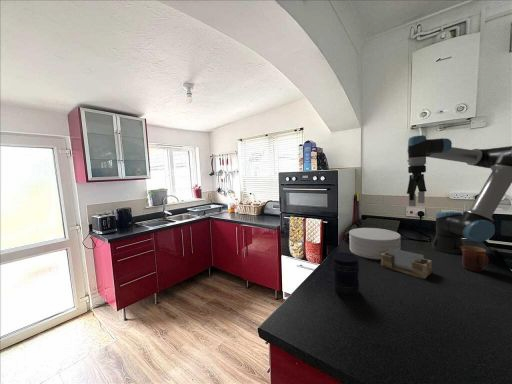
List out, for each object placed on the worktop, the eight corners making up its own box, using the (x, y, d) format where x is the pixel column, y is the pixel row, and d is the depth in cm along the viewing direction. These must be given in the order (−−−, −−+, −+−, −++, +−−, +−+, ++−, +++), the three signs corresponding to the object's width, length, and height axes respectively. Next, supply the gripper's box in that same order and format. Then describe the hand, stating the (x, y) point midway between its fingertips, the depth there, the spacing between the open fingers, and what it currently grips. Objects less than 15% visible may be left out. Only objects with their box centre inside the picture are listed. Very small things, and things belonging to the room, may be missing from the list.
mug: (455, 265, 107) (455, 245, 106) (476, 265, 105) (476, 245, 104) (474, 276, 95) (475, 254, 95) (498, 277, 94) (498, 254, 93)
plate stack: (399, 247, 136) (399, 229, 136) (401, 263, 113) (401, 242, 112) (352, 242, 151) (352, 226, 151) (346, 255, 128) (345, 236, 127)
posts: (388, 260, 116) (388, 250, 116) (431, 272, 101) (432, 260, 101) (380, 266, 111) (380, 254, 110) (425, 278, 95) (425, 266, 95)
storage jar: (348, 300, 82) (347, 263, 81) (329, 289, 91) (327, 256, 90) (364, 293, 87) (363, 258, 86) (344, 283, 96) (343, 251, 95)
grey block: (391, 262, 113) (391, 248, 112) (423, 271, 101) (423, 255, 101) (388, 265, 110) (387, 250, 110) (420, 274, 99) (420, 257, 98)
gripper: (416, 165, 122) (416, 201, 124) (399, 166, 108) (399, 207, 109) (433, 164, 116) (432, 202, 118) (417, 165, 102) (417, 208, 103)
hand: (416, 204), depth 114 cm, fingers open, 13 cm apart
